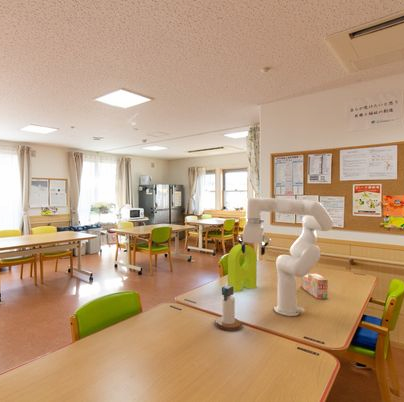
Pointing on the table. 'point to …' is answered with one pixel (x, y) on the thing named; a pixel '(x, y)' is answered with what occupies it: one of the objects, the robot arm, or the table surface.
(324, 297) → the pink patterned box
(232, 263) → the decorative object
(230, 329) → the base
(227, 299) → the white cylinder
